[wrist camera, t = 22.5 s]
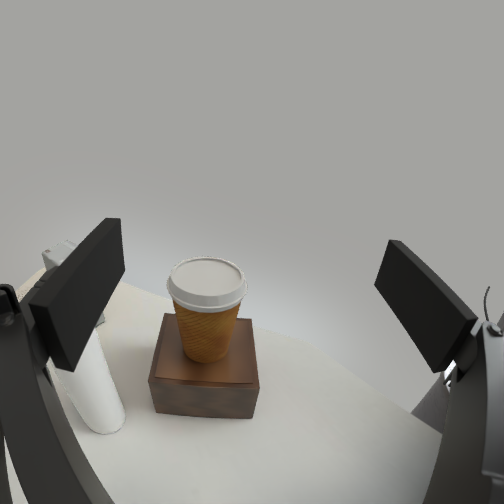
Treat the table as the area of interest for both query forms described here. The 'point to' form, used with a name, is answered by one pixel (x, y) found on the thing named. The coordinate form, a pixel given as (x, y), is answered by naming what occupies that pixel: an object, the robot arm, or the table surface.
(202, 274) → the disposable coffee cup
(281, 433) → the table surface
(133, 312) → the table surface
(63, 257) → the cosmetic box
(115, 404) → the spray bottle
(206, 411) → the walnut riser
